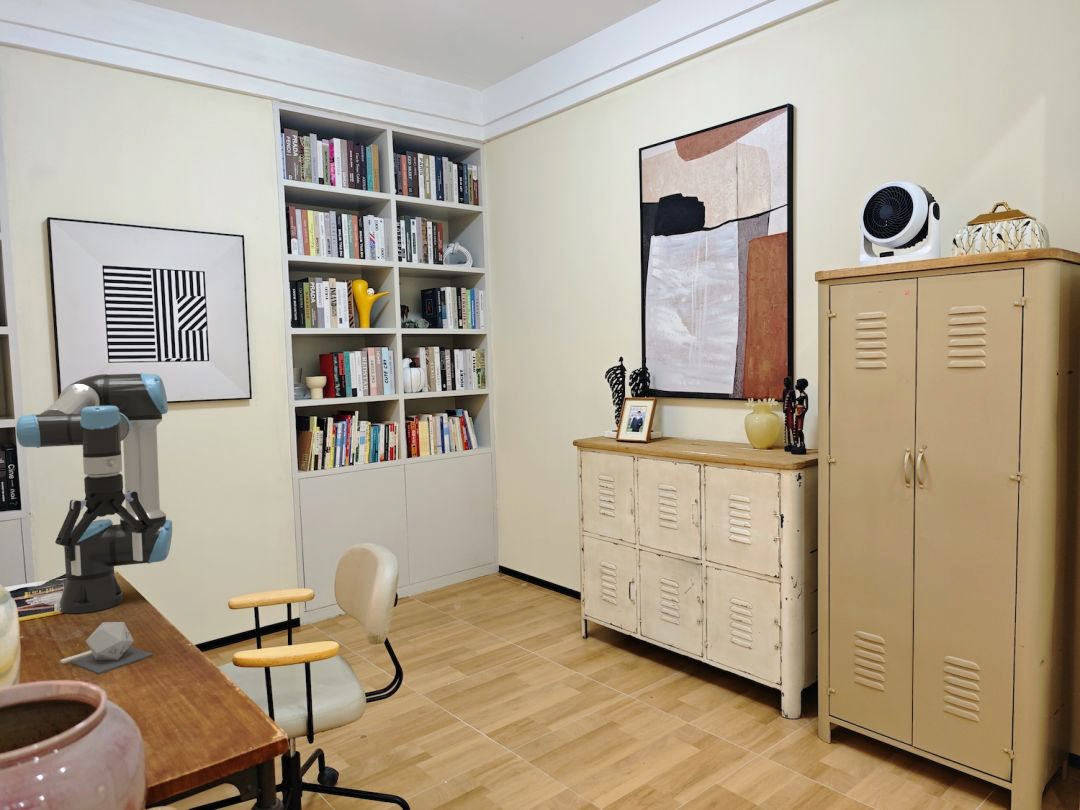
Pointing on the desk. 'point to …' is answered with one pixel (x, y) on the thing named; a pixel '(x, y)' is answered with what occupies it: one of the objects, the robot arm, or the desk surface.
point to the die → (109, 641)
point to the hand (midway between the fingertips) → (108, 567)
